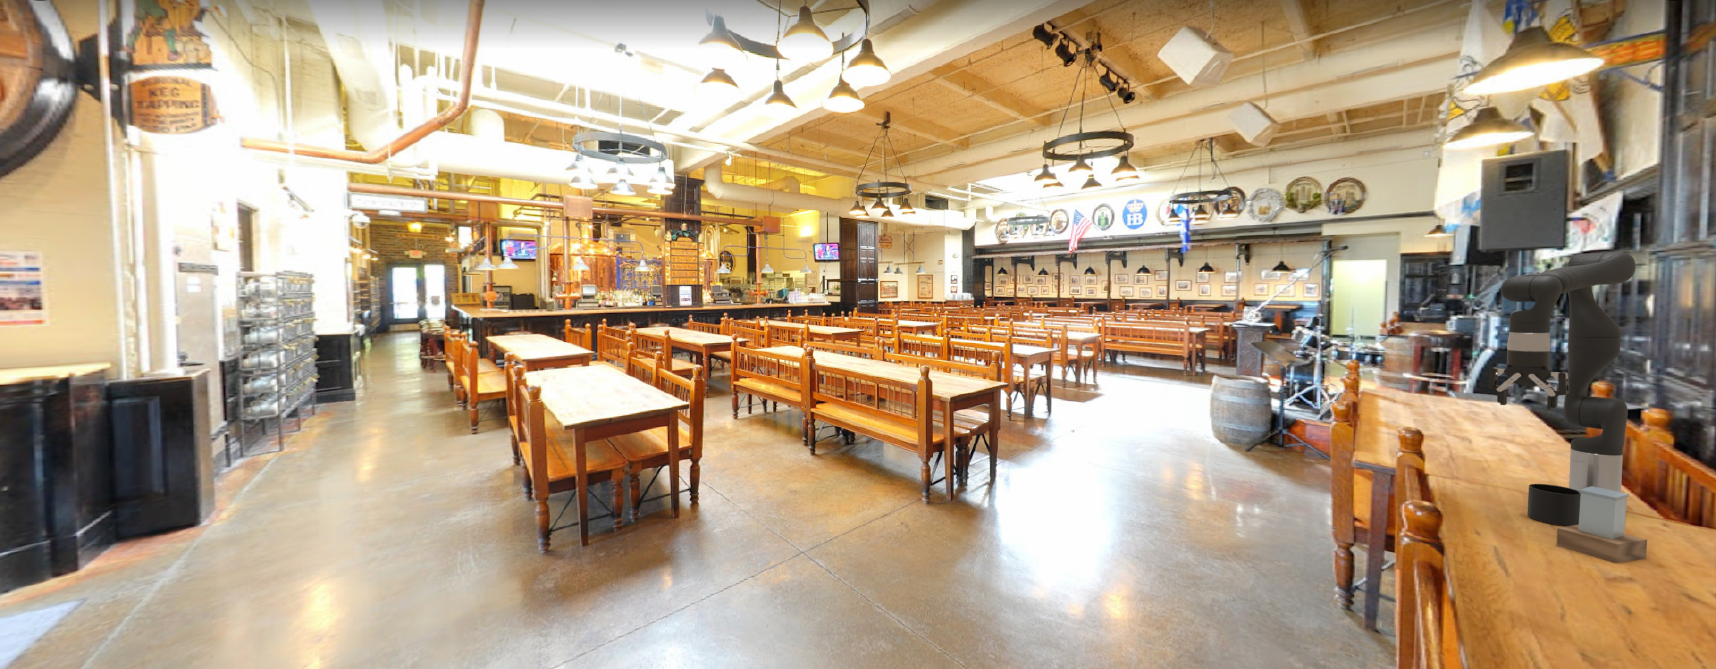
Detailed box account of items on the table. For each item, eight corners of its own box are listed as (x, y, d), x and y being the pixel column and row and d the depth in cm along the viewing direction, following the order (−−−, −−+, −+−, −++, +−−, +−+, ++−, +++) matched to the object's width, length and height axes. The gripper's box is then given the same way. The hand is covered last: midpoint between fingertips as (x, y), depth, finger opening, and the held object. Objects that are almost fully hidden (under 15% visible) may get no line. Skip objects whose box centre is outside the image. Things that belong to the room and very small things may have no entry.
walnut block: (1585, 542, 144) (1586, 523, 144) (1646, 559, 134) (1647, 539, 134) (1556, 546, 142) (1557, 527, 142) (1616, 564, 133) (1617, 544, 132)
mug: (1578, 517, 158) (1580, 486, 158) (1582, 529, 150) (1583, 497, 150) (1527, 508, 165) (1528, 479, 165) (1527, 520, 158) (1529, 489, 157)
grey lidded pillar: (1589, 526, 142) (1591, 486, 141) (1625, 535, 136) (1628, 493, 135) (1576, 530, 140) (1579, 489, 139) (1613, 539, 134) (1616, 497, 134)
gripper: (1574, 349, 148) (1571, 409, 149) (1495, 346, 160) (1493, 401, 161) (1564, 351, 144) (1561, 413, 145) (1485, 348, 157) (1483, 404, 158)
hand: (1526, 407), depth 153 cm, fingers open, 8 cm apart
